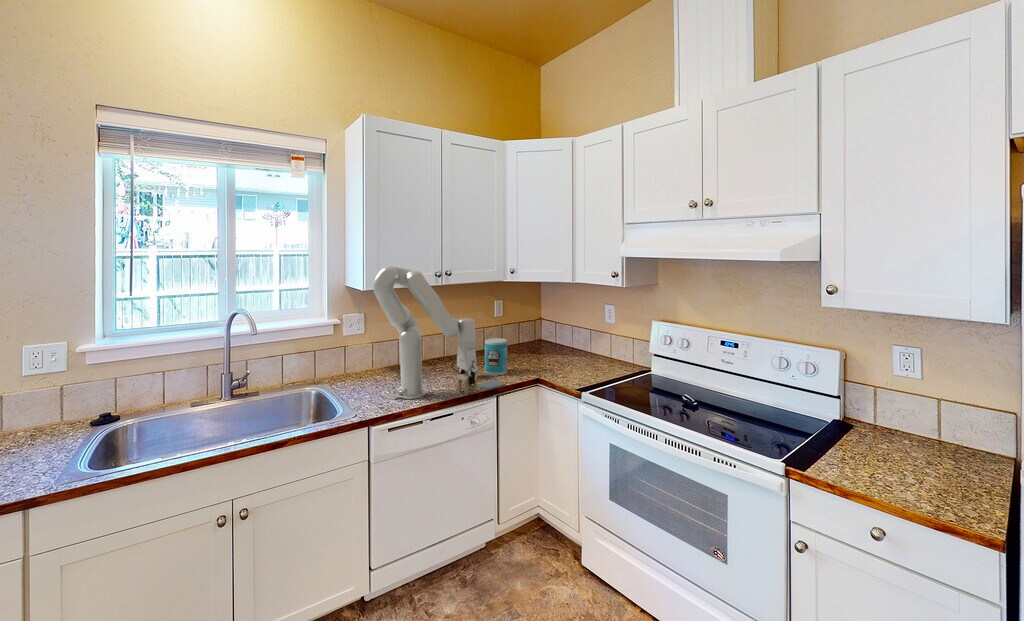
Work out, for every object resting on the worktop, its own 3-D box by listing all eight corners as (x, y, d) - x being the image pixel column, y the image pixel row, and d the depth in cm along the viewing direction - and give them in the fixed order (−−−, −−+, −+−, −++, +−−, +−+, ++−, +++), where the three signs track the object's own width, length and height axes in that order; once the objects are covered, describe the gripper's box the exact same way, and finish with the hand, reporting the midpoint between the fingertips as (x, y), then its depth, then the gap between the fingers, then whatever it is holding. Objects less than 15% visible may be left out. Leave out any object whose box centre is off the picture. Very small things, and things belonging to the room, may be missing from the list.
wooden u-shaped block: (465, 394, 206) (465, 377, 205) (458, 391, 211) (457, 374, 210) (477, 391, 211) (476, 375, 209) (469, 388, 215) (468, 372, 214)
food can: (491, 377, 234) (491, 343, 232) (481, 371, 244) (480, 339, 242) (511, 373, 240) (511, 341, 238) (500, 368, 250) (500, 337, 248)
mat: (486, 390, 213) (486, 388, 213) (475, 386, 219) (475, 384, 219) (506, 385, 220) (506, 383, 220) (494, 381, 227) (494, 379, 227)
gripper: (449, 343, 212) (450, 379, 214) (471, 349, 199) (471, 388, 201) (462, 341, 217) (463, 376, 219) (484, 347, 204) (484, 385, 206)
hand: (467, 382), depth 210 cm, fingers closed on wooden u-shaped block, 6 cm apart
